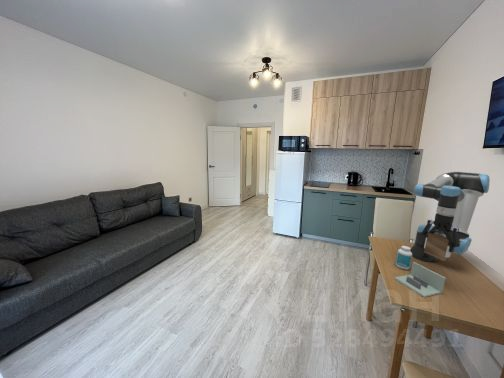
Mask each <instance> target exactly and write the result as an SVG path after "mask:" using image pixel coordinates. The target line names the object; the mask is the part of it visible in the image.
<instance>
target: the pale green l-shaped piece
mask: <svg viewBox="0 0 504 378" xmlns="http://www.w3.org/2000/svg"><path fill="white" fill-rule="evenodd" d="M393 278H394V280H395V281H397V282H398V283H400V284H401V285H403V286H405V287H406V288H407V289H410V290H411V291H413V292H415V293H416V294H418V295H419V296H420V297H422V296H423V297H422V298H426V297H425V296H429V297H432V296H431V295H433V296H437V295H441V294H444V293H443V292H444V291H443V290H444V287H445V284H446V276H443V275H441V274H440V273H437V272H435V271H433V270H431V269H429V268H427V267H425V266H423V265H421V264H419V263H417V262H415V261H413V262H412V265H411V270H410V274H407V275H400V276H395V277H393ZM436 294H437V295H436Z"/></svg>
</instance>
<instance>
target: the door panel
mask: <svg viewBox="0 0 504 378" xmlns="http://www.w3.org/2000/svg"><path fill="white" fill-rule="evenodd" d="M447 246H449V240H448V239H447V238H446V237H443V236H441V235H438V234H435V233H428V237H427V241H426V246H425V251H424V252H425V253H427V254H429V255H432V256H434V257H436V258H437V259H439V260H440V261H443V262H446V261H448V259H449V257H447V258H446V257H445V255H446V251H447Z"/></svg>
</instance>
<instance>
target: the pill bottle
mask: <svg viewBox="0 0 504 378" xmlns="http://www.w3.org/2000/svg"><path fill="white" fill-rule="evenodd" d="M411 248H412V247H410V246H407V245H401V248H399V249H398V250H397V253H396V259H395V260H396V261H395V266H396V267H397V268H399V269H402V270H410V268H411V263H412V258H413V256H412V252H410V250H411Z"/></svg>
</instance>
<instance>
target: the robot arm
mask: <svg viewBox="0 0 504 378" xmlns="http://www.w3.org/2000/svg"><path fill="white" fill-rule="evenodd" d="M490 181H491V180H490V176H489V174H486V173H485V174H484V173H477V172H474V173H473V172H463V171H450V172H446V173H442V174H440V175H438V176H437V177H436V178H435V179H433V180H431V181H430V182H427V183H426V184H423V183H422V184H420V183H417V184H416V185H415V186H414V188H413V194H414V196H417V197H420V198H427V199H433V200H438V202H437V206H436V210H435V212H436V213H435V215H434V220H433V219H428V220H427V223H426V224H422V225H419V226H418V227H417V230H416V234H415V240H414V244H413V246H412V247H410V248H411V249H410V252H412V258H414V259H417V260H420V261H422V262H427V263H436V262H437V259H438V258H436V257H434V256H432V255H429V254H427V253H425V252H424V251H425V246H426V241H427V237H428V233H435V234H438V235H441V236H443V237H446V238H447V239H448V240H449V246H447V251H446V255H445V257H446V258H447V257H448V258H450V257H451V253H453V254H457V255H458V254H459V255H464V254H466V252H467V251H468V249H469V248H470V245H471V243H472V241H473V240H472V238H471V237H470V234H469V232H468V230H469V228H470V225H471V221H472V219H473V215H474V213H475V209H476V206H477V203H478V202H479V201H478V200H479V198H480V197H482V196H484V194H487V193H489V190H490Z"/></svg>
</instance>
